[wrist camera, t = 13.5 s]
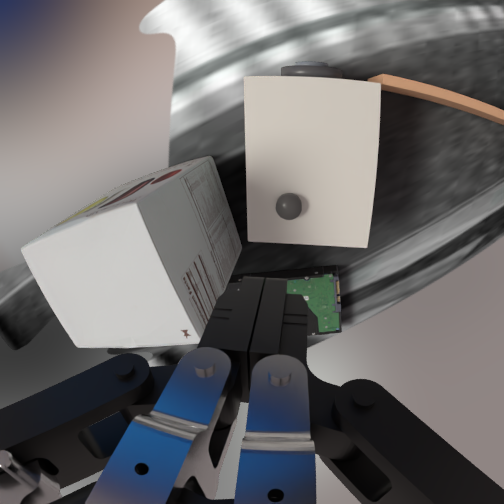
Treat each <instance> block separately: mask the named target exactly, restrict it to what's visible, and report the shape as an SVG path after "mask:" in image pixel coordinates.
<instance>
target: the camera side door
mask: <svg viewBox="0 0 504 504" xmlns="http://www.w3.org/2000/svg"><path fill="white" fill-rule="evenodd" d="M368 82H374V83H381V90H384V91H389V92H394V93H399V94H403V95H408V96H412V97H416V98H420V99H424V100H428V101H432V102H435V103H439V104H443V105H446V106H449V107H453V108H456V109H459V110H462V111H466V112H469V113H472V114H474V115H477V116H480V117H483V118H486V119H489V120H491V121H494V122H496V123H499V124H502V125H504V110H501V109H499V108H496V107H494V106H491V105H489V104H486V103H484V102H481V101H478V100H476V99H473V98H470V97H467V96H464V95H461V94H458V93H455V92H452V91H449V90H446V89H442V88H439V87H435V86H432V85H428V84H425V83H421V82H417V81H413V80H409V79H405V78H400V77H396V76H391V75H386V74H381V75H378V76H375V77H372V78H369V79H368Z"/></svg>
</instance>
